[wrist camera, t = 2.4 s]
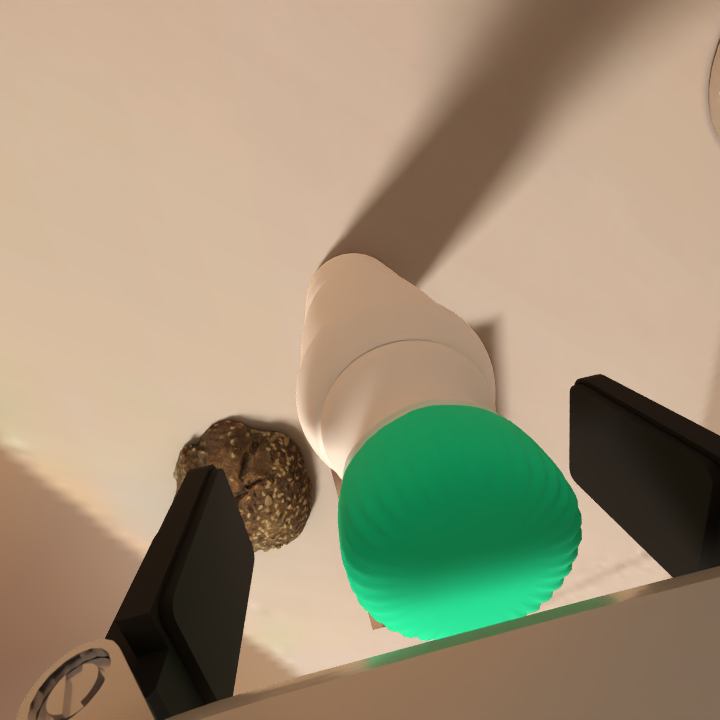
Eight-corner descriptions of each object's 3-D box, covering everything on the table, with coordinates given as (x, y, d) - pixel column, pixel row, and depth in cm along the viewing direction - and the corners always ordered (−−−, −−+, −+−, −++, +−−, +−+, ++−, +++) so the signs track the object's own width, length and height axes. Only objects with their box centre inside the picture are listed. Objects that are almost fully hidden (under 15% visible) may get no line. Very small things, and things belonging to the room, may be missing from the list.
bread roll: (306, 537, 38) (304, 581, 34) (174, 533, 36) (153, 580, 32) (320, 423, 34) (321, 456, 29) (171, 412, 32) (147, 445, 28)
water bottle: (376, 353, 32) (537, 718, 9) (294, 324, 30) (222, 674, 7) (411, 272, 30) (743, 465, 7) (325, 237, 28) (369, 326, 5)
